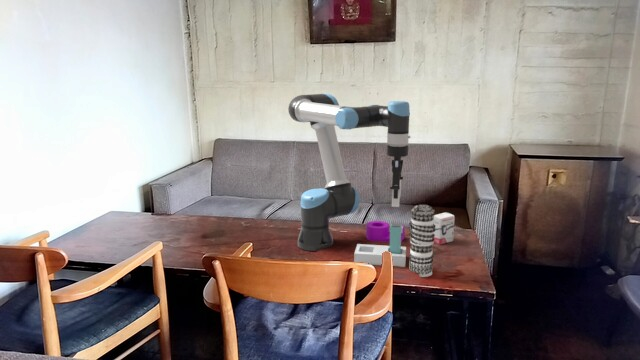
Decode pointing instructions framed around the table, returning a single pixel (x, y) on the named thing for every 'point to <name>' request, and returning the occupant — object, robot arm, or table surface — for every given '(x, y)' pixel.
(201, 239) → the table surface
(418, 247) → the decorative candle
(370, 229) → the tape dispenser
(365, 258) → the white slotted block
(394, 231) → the plug
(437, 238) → the ink box
